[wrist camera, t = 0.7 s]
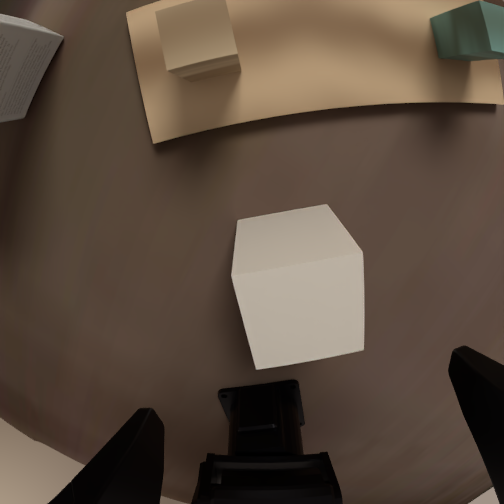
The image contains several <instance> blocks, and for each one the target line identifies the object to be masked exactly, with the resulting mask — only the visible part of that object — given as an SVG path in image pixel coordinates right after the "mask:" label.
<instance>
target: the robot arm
mask: <svg viewBox="0 0 504 504" xmlns="http://www.w3.org/2000/svg"><path fill="white" fill-rule="evenodd" d="M448 373H449V377H450V379H451V382H452V385H453V387H454V390H455V393H456V396H457V399H458V401H459V404H460V407H461V410H462V413H463V415H464V418H465V420H466V422H467V424H468V427H469V429H470V431H471V433H472V435H473V438H474V440H475V442H476V444H477V447H478V449H479V451H480V454H481V456H482V459H483V461H484V463H485V466H486V468H487V471H488V473H489V476H490V479H491V481H492V484H493V487H494V489H495V492H496V495H497V498H498V500H499V503H500V504H504V365H502V364H500V363H498V362H496V361H494V360H493V359H491V358H489V357H487V356H485V355H483V354H481V353H479V352H477V351H475V350H473V349H471V348H470V347H468V346H461V347H458V348H456V349H454V350H453V351H452V355H451V359H450V364H449V368H448ZM292 385H293V386H292ZM218 397H219V400H220V402H221V404H222V407H223V409H224V411H225V413H226V416H227V418H228V420H229V422H230V425H229V443H228V455H215V453H207V458H206V461H205V462H203V463H200V468H199V477H198V483H197V486H196V489H195V493H194V496H193V499H192V502H191V504H343V503H342V495H341V490H340V487H339V484H338V481H337V478H336V475H335V472H334V470H333V467H332V464H331V461H330V458H329V455H328V452H320V453H319V454H306V455H304V454H303V446H302V438H301V430H300V427H301V426H303V425H304V424H305V422H304V415H303V408H302V402H301V395H300V389H299V383H298V381H297V380H286V381H280V382H273V383H266V384H259V385H252V386H243V387H235V388H225V389H220V390H219V391H218ZM163 472H164V425H163V423H162V421H161V420H160V418H159V417H158V415H157V414H156V412H155V411H154V409H152V408H140V409H138V410H137V411H136V412H135V413H134V414H133V415H132V417H131V418H130V419H129V420H128V421H127V422H126V423H125V424H124V425H123V426H122V427H121V428H120V430H119V431H118V432H117V433H116V434H115V435H114V436H113V437H112V438H111V439H110V440H109V441H108V442H107V444H106V445H105V446H104V447H103V448H102V449H101V450H100V451H99V452H98V453H97V454H96V455H95V456H94V457H93V458H92V459H91V461H90V462H89V463H88V464H87V465H86V466H85V467H84V468H83V469H82V470H81V471H80V472H79V473H78V474H77V475H76V476H75V477H74V479H73V480H72V481H71V482H70V483H69V484H68V485H67V486H66V487H65V488H64V489H63V490H62V491H61V492H60V493H59V494H58V495H57V496H56V497H55V498H54V499H52V500H51V501H50V502H49V503H48V504H160V496H161V488H162V481H163Z"/></svg>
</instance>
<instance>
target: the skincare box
mask: <svg viewBox="0 0 504 504" xmlns="http://www.w3.org/2000/svg"><path fill="white" fill-rule="evenodd" d="M62 40H63V36H61V35H59V34H57V33H55V32H53V31H51V30H49V29H47V28H45V27H42V26H40V25H38V24H35V23H33V22H30V21H28V20H25V19H20V18H16V17H12V16H8V15H3V14H0V122H6V121H12V120H18V119H22V118H24V117H25V115H26V113H27V110H28V108H29V105H30V103H31V101H32V98H33V96H34V94H35V92H36V90H37V87H38V85H39V83H40V81H41V79H42V77H43V75H44V73H45V71H46V69H47V67H48V65H49V63H50V61H51V59H52V58H53V56H54V54H55V52H56V50H57V48H58V47H59V45H60V43H61V41H62Z"/></svg>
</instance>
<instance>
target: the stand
mask: <svg viewBox="0 0 504 504" xmlns="http://www.w3.org/2000/svg"><path fill="white" fill-rule="evenodd" d="M126 14H127V20H128V26H129V32H130V38H131V43H132V48H133V54H134V59H135V64H136V69H137V74H138V79H139V83H140V88H141V93H142V97H143V102H144V106H145V111H146V115H147V120H148V124H149V128H150V132H151V136H152V140H153V144H155V143H158V142H162V141H165V140H169V139H173V138H177V137H181V136H184V135H188V134H192V133H197V132H201V131H205V130H209V129H214V128H218V127H223V126H227V125H232V124H237V123H242V122H247V121H252V120H258V119H263V118H269V117H275V116H281V115H287V114H294V113H301V112H308V111H315V110H323V109H332V108H341V107H351V106H363V105H376V104H392V103H417V102H465V103H489V104H504V99H503V91H502V83H501V76H500V70H499V64H498V59H504V7H500V6H497V5H494V4H491V3H487V2H484V1H483V0H161V1H158V2H155V3H152V4H149V5H146V6H143V7H140V8H137V9H134V10H132V11H129V12H126Z"/></svg>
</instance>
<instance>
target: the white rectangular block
mask: <svg viewBox="0 0 504 504" xmlns="http://www.w3.org/2000/svg"><path fill="white" fill-rule="evenodd" d="M231 277H232V281H233V285H234V289H235V293H236V296H237V300H238V304H239V308H240V312H241V315H242V319H243V323H244V326H245V330H246V334H247V338H248V341H249V345H250V349H251V352H252V356H253V360H254V363H255V367H256V370H258V369H265V368H272V367H278V366H285V365H291V364H296V363H302V362H308V361H313V360H318V359H323V358H329V357H333V356H338V355H343V354H348V353H352V352H357V351H361V350H364V269H363V252H362V250H361V249H360V248H359V246H358V245H357V244H356V242H355V241H354V239H353V238H352V237H351V235H350V234H349V233H348V231H347V230H346V229H345V227H344V226H343V225H342V223H341V222H340V221H339V219H338V218H337V217H336V215H335V214H334V213H333V212H332V210H331V209H330V208H329V206H328V205H327V204H325V205H319V206H313V207H307V208H301V209H296V210H290V211H284V212H279V213H273V214H268V215H262V216H257V217H252V218H246V219H241V220H238V221H237V230H236V238H235V247H234V256H233V265H232V274H231Z"/></svg>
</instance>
